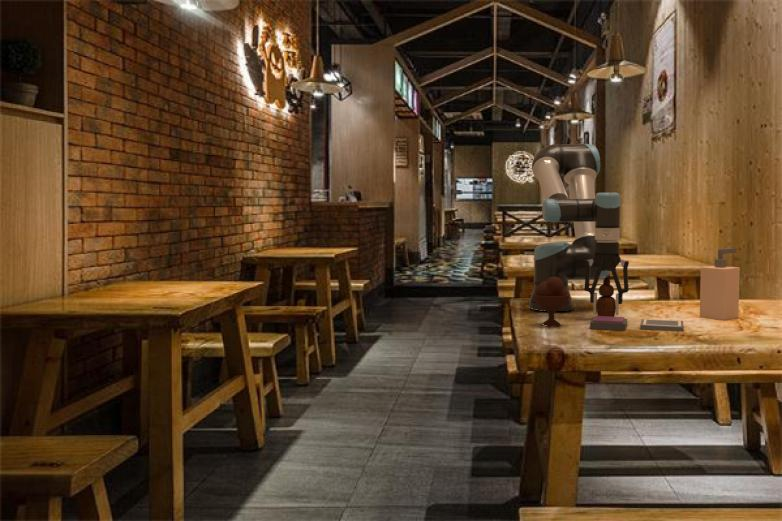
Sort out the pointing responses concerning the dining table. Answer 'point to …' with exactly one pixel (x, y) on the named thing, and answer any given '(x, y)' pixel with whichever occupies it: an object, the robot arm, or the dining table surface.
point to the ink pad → (608, 323)
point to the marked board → (662, 325)
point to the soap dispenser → (720, 289)
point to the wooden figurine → (606, 299)
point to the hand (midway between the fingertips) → (606, 313)
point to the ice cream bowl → (551, 298)
